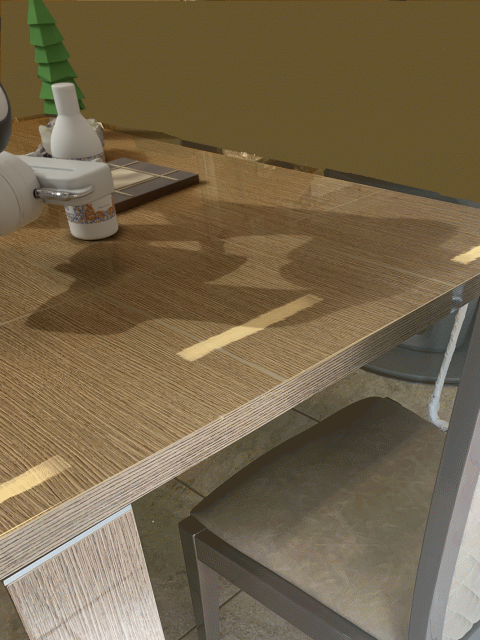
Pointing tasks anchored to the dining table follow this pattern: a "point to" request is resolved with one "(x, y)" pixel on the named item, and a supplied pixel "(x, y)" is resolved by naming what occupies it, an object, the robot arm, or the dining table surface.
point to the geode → (47, 131)
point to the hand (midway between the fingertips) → (69, 161)
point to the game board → (145, 182)
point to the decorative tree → (50, 55)
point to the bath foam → (80, 144)
